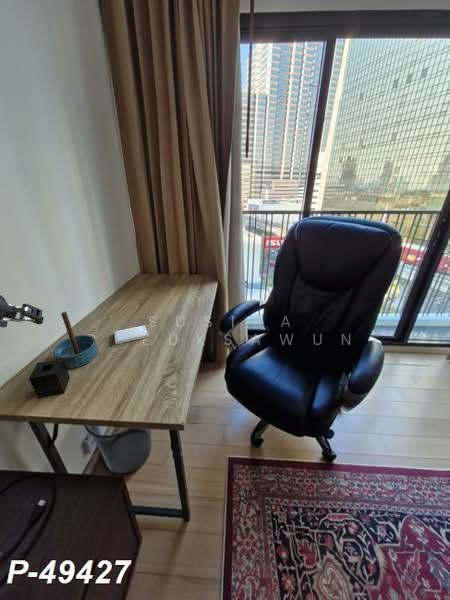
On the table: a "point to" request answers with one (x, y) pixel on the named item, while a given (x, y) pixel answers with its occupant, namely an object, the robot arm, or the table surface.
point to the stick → (70, 332)
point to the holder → (49, 378)
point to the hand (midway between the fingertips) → (23, 322)
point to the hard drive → (130, 334)
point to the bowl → (67, 353)
